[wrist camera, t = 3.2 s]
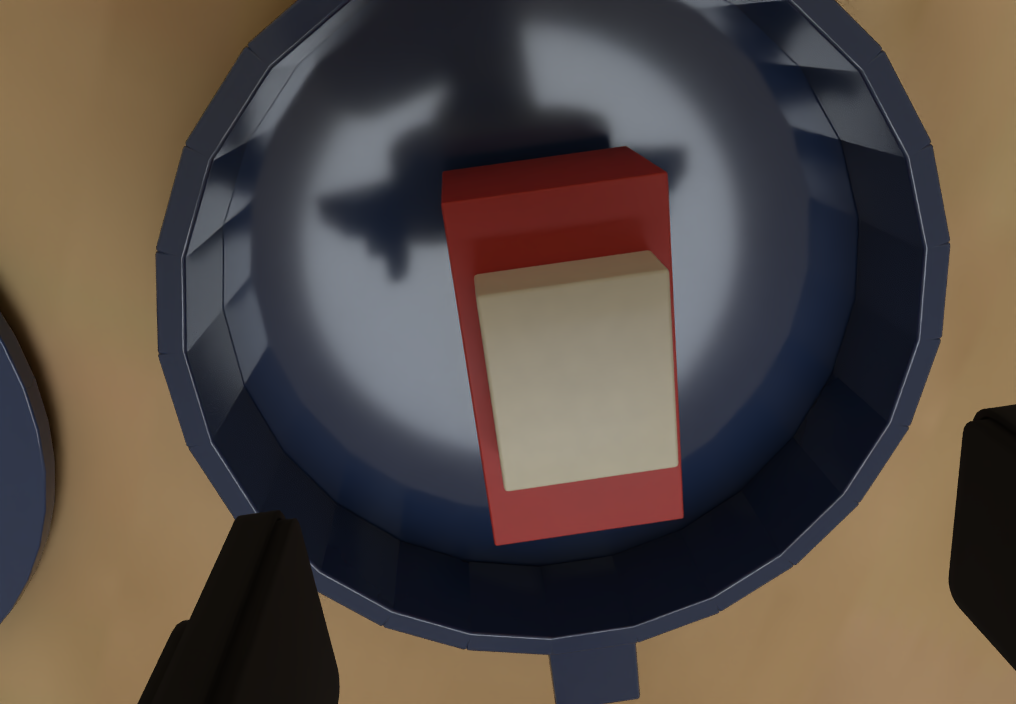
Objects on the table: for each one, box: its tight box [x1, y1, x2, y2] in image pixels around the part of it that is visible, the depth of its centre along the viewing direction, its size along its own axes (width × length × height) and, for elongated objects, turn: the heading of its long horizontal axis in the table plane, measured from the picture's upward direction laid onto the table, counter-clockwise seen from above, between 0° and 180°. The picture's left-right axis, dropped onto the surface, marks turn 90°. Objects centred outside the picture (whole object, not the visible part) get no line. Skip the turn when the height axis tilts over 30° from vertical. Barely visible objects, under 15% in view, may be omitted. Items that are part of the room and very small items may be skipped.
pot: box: [155, 0, 950, 704], centre depth 19 cm, size 17×23×4 cm
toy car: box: [441, 146, 684, 546], centre depth 17 cm, size 8×4×6 cm, turn 7°
